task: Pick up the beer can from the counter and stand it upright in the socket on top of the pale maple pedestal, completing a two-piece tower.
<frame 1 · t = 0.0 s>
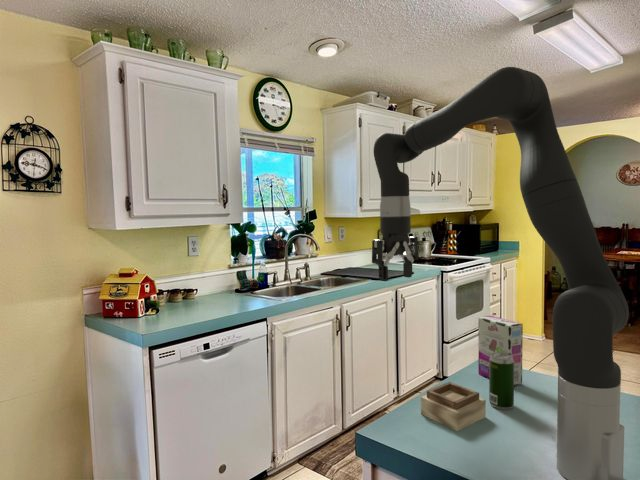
hand: (396, 279, 111), 29 cm above the countertop, tool pointing down, fingers open, 8 cm apart
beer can: (501, 406, 104), on the countertop
pedestal: (452, 415, 99), on the countertop
candy bar box: (499, 380, 119), on the countertop
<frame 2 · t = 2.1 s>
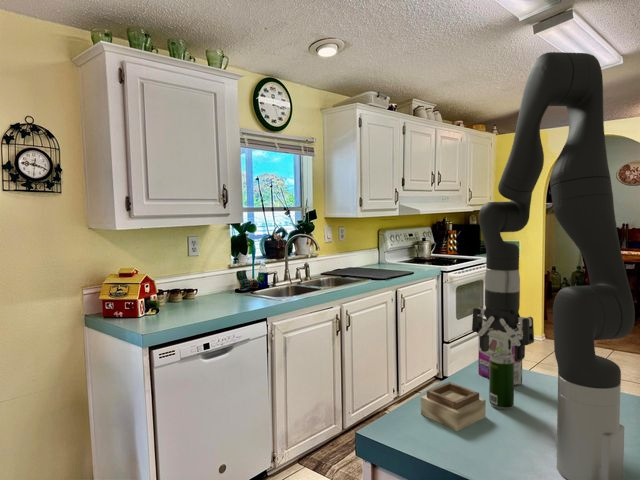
hand: (501, 355, 103), 12 cm above the countertop, tool pointing down, fingers open, 8 cm apart
nothing on the countertop moved.
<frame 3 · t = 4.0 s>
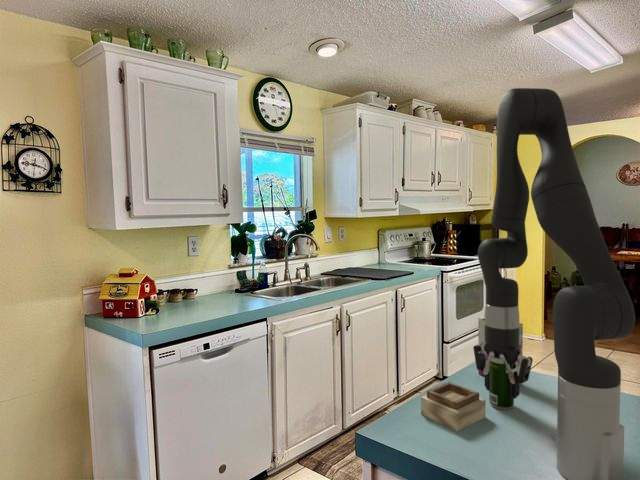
hand: (501, 393, 104), 3 cm above the countertop, tool pointing down, fingers closed on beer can, 5 cm apart
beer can: (501, 406, 104), on the countertop, touching gripper
everything else where it was.
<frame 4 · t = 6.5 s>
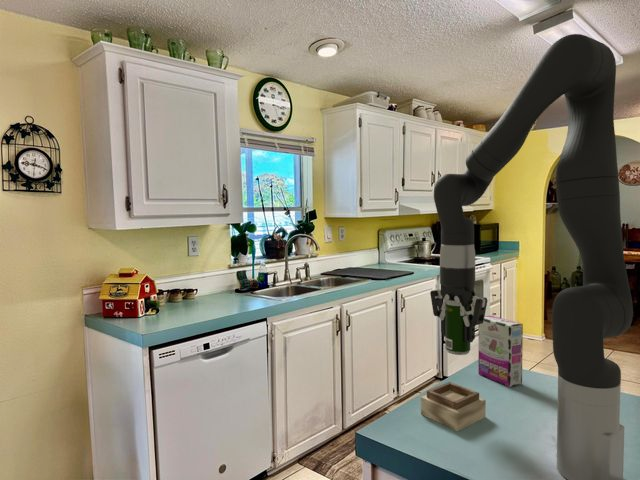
hand: (457, 338, 99), 18 cm above the countertop, tool pointing down, fingers closed on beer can, 5 cm apart
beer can: (457, 352, 99), point 14 cm above the countertop, touching gripper
everything else where it was.
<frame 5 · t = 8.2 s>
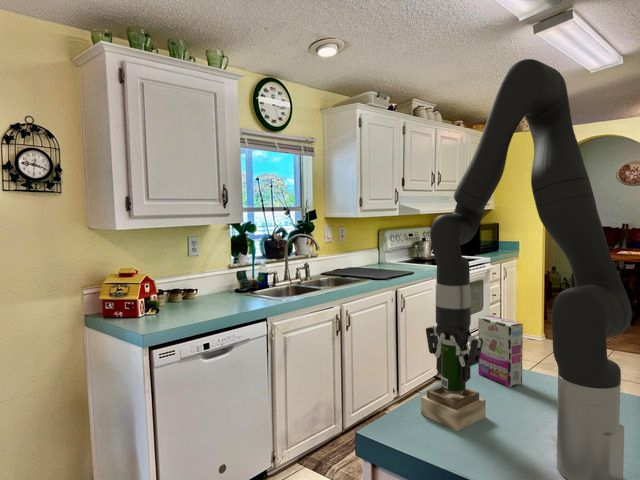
hand: (452, 377, 99), 9 cm above the countertop, tool pointing down, fingers closed on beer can, 5 cm apart
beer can: (453, 390, 99), point 6 cm above the countertop, touching gripper
everything else where it was.
when the fingers open (8 cm above the countertop, at t = 9.3 s): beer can stays where it is, resting on pedestal.
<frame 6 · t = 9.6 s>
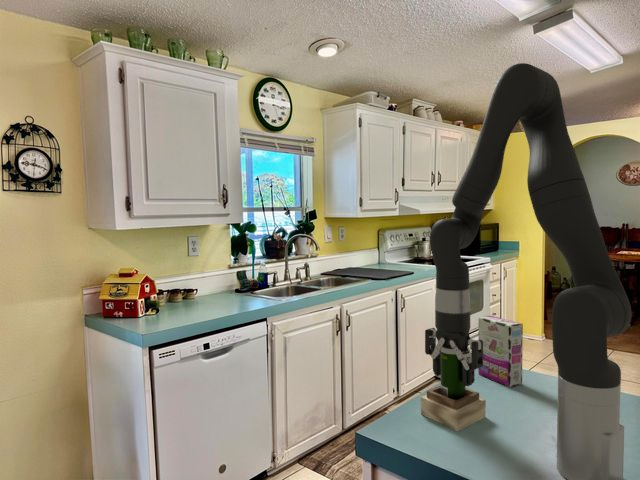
hand: (452, 379, 99), 8 cm above the countertop, tool pointing down, fingers open, 7 cm apart
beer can: (453, 399, 99), point 4 cm above the countertop, touching pedestal
everything else where it was.
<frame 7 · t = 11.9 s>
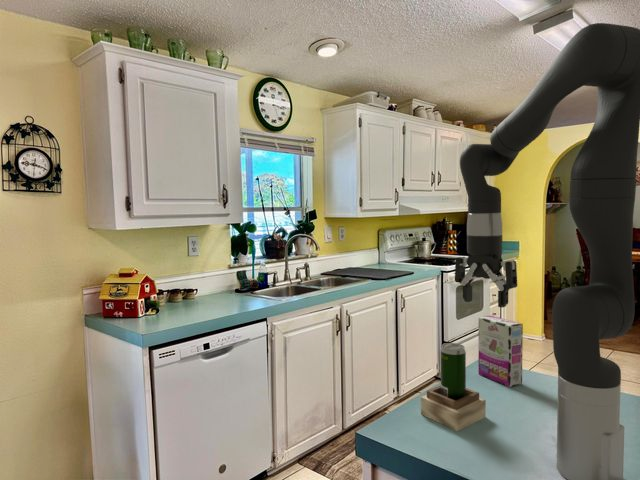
hand: (484, 304, 100), 25 cm above the countertop, tool pointing down, fingers open, 8 cm apart
nothing on the countertop moved.
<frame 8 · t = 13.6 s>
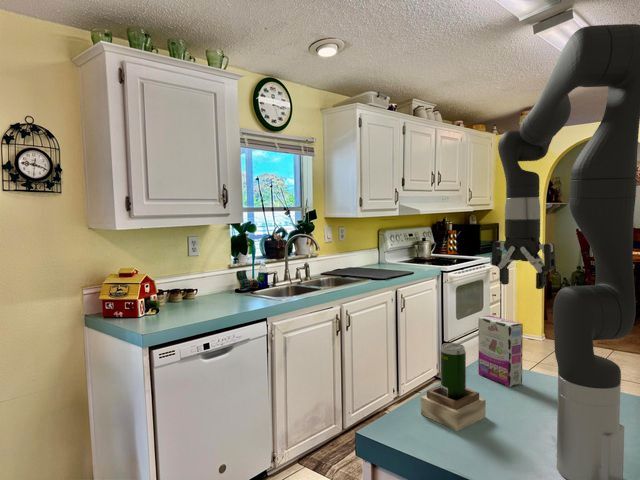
hand: (521, 286, 103), 28 cm above the countertop, tool pointing down, fingers open, 8 cm apart
nothing on the countertop moved.
at the end: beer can 0.1 cm off-centre on the pedestal, point 3.8 cm above the pedestal's base; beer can tilted 0°; the gripper is holding nothing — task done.
